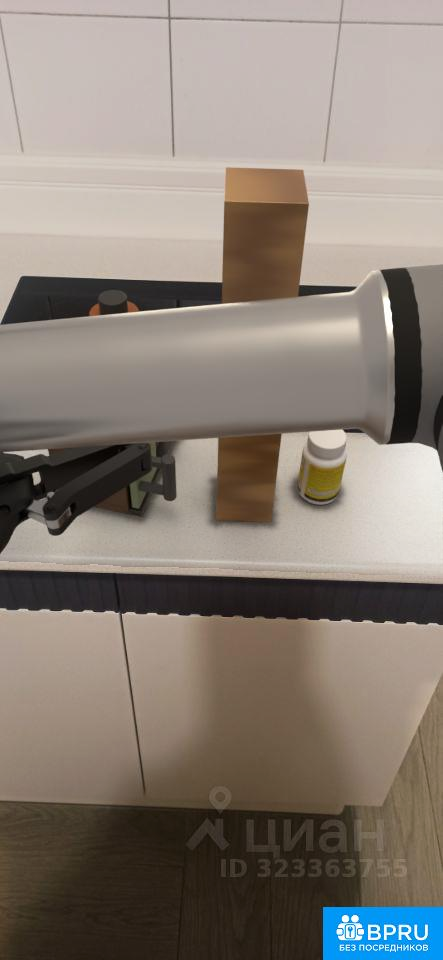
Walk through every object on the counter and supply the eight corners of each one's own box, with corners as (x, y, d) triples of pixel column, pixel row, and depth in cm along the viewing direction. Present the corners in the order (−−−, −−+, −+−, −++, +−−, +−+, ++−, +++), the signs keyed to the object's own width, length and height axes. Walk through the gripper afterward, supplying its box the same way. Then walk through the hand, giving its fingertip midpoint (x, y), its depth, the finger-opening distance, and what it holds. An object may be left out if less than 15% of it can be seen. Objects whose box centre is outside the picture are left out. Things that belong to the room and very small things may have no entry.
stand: (269, 482, 76) (303, 169, 51) (271, 522, 72) (309, 203, 47) (217, 480, 76) (225, 166, 51) (216, 520, 72) (224, 200, 47)
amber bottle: (153, 383, 69) (147, 292, 62) (128, 408, 66) (118, 316, 59) (116, 369, 71) (106, 279, 63) (90, 393, 68) (76, 301, 60)
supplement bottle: (347, 496, 75) (360, 441, 69) (313, 511, 73) (323, 457, 67) (321, 469, 78) (332, 415, 72) (288, 484, 76) (296, 429, 70)
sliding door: (191, 474, 75) (189, 408, 68) (174, 516, 71) (171, 450, 64) (150, 466, 76) (145, 400, 69) (132, 507, 72) (124, 441, 65)
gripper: (-190, 532, 51) (-26, 374, 65) (103, 637, 45) (214, 439, 59) (-237, 463, 45) (-47, 306, 59) (89, 572, 40) (215, 370, 54)
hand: (83, 372), depth 59 cm, fingers open, 13 cm apart
